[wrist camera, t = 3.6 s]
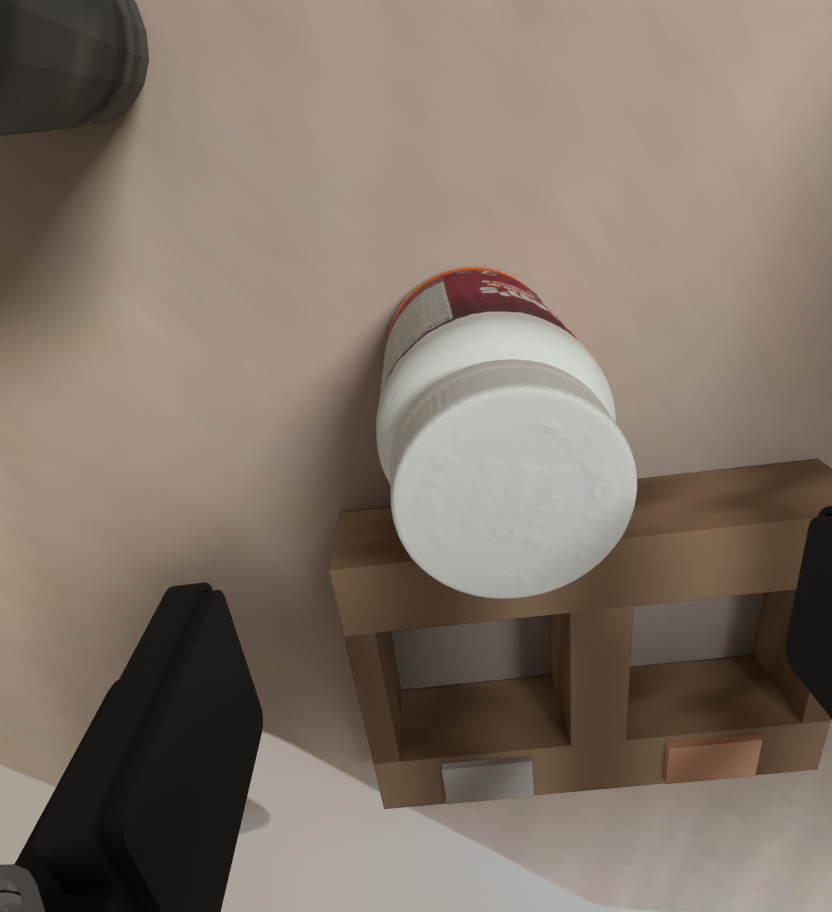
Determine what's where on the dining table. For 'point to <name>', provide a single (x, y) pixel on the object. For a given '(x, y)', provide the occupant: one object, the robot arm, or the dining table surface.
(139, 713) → the robot arm
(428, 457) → the pill bottle
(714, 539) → the socket board
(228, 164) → the dining table surface
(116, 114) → the beverage cup
